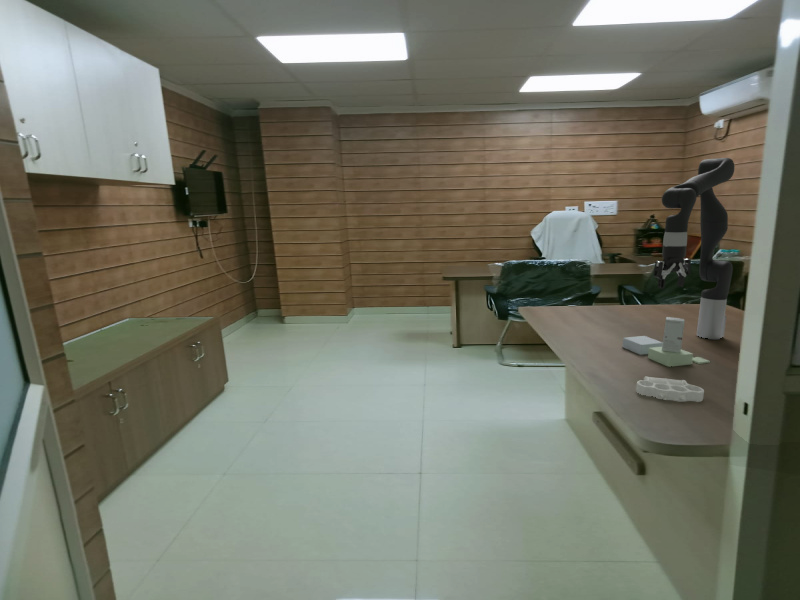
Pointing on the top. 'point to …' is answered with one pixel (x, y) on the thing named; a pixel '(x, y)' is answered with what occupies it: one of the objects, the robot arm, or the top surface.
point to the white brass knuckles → (669, 389)
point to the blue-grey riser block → (640, 344)
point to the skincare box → (673, 334)
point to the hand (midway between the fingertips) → (670, 287)
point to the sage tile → (699, 360)
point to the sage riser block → (670, 357)
